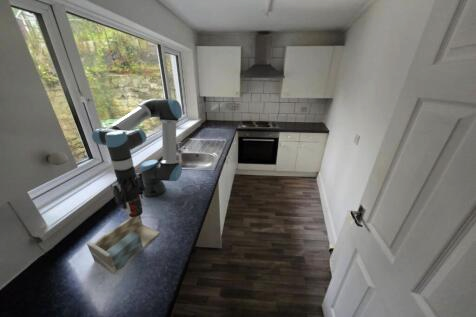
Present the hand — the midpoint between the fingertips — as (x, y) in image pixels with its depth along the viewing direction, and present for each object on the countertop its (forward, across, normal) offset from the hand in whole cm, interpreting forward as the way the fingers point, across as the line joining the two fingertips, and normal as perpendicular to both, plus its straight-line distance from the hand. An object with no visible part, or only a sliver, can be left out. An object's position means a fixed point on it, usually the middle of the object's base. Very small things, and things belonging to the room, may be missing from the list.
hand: (134, 208), depth 87 cm
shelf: (+17, +8, +2) cm, 18 cm away
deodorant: (+3, 0, 0) cm, 3 cm away
